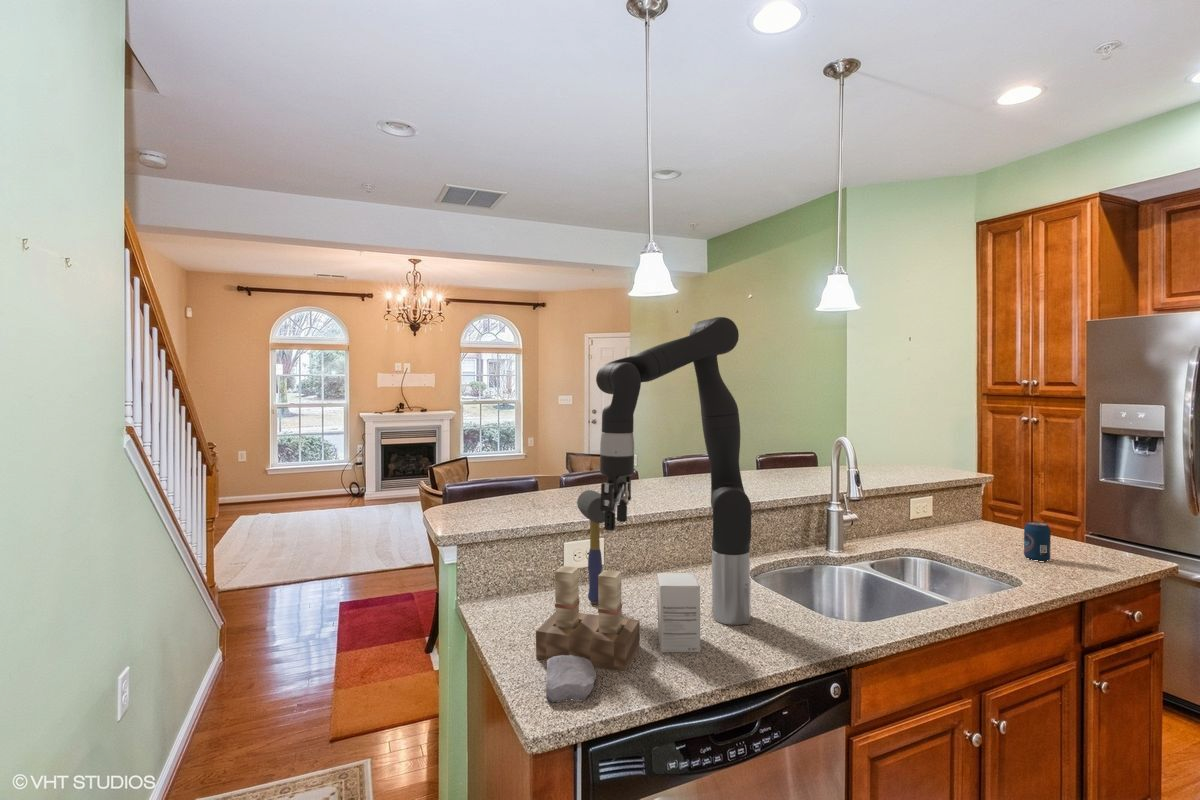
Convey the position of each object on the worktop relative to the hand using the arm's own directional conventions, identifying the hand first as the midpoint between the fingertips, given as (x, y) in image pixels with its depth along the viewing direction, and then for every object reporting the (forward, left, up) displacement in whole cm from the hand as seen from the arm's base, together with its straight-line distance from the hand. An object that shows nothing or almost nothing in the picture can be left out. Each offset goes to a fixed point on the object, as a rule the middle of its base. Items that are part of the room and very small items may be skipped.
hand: (616, 525), depth 129 cm
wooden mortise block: (+5, +4, -28) cm, 28 cm away
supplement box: (-13, -6, -28) cm, 31 cm away
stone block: (+4, +18, -28) cm, 34 cm away
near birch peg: (0, +4, -23) cm, 23 cm away
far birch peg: (+10, +4, -23) cm, 25 cm away
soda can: (-114, -101, -28) cm, 155 cm away
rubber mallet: (+13, -24, -28) cm, 39 cm away
